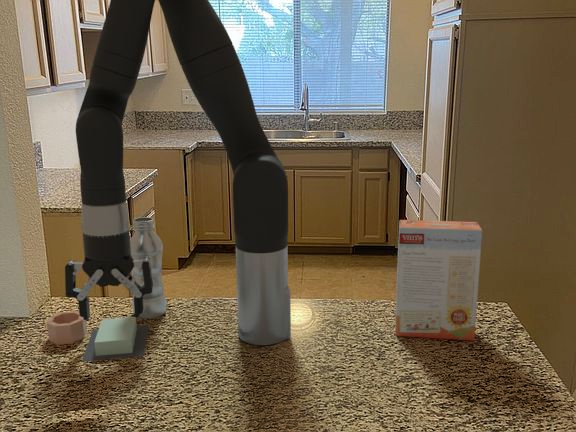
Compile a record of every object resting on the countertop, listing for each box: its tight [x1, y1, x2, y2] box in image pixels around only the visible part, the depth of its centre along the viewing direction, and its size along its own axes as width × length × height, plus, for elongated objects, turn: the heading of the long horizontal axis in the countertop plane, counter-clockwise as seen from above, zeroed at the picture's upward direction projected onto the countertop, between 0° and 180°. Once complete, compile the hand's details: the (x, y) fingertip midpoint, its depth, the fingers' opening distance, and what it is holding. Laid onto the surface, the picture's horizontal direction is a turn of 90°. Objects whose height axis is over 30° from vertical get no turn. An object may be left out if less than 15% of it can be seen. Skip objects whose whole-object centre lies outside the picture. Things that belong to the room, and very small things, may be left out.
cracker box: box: [395, 219, 483, 342], centre depth 102 cm, size 14×6×21 cm, turn 80°
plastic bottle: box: [130, 216, 168, 320], centre depth 109 cm, size 6×7×20 cm
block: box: [94, 316, 138, 356], centre depth 99 cm, size 6×9×2 cm, turn 10°
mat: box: [81, 324, 149, 363], centre depth 100 cm, size 10×12×1 cm
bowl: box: [46, 310, 88, 346], centre depth 102 cm, size 6×6×4 cm
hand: (112, 316), depth 99 cm, fingers open, 8 cm apart
